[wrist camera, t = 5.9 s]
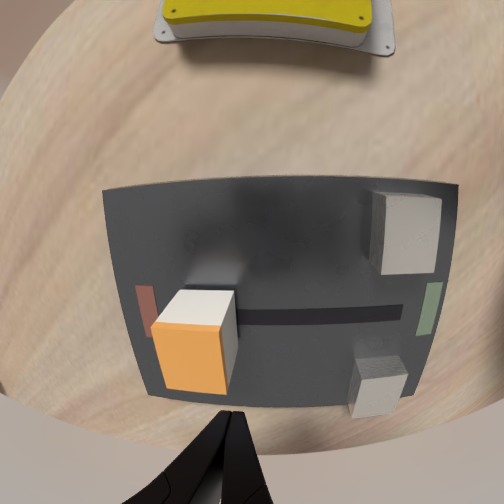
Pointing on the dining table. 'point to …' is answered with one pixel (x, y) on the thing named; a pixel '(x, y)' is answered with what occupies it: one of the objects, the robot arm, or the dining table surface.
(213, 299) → the block
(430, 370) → the dining table surface
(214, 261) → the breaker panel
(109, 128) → the dining table surface
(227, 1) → the emergency button
